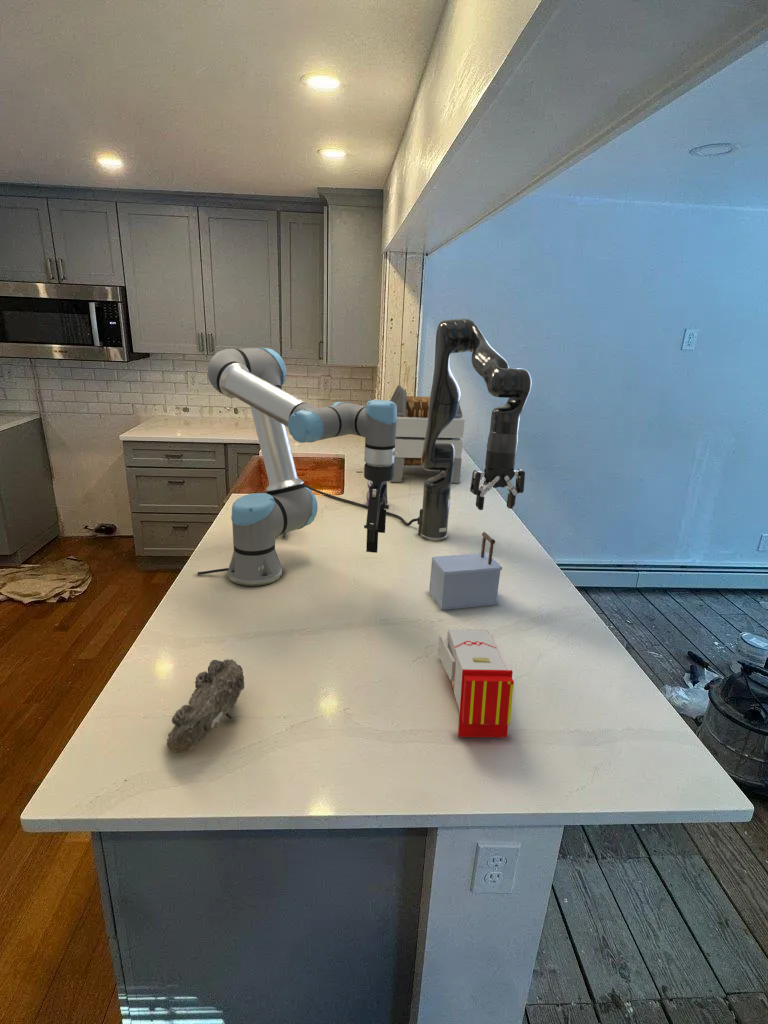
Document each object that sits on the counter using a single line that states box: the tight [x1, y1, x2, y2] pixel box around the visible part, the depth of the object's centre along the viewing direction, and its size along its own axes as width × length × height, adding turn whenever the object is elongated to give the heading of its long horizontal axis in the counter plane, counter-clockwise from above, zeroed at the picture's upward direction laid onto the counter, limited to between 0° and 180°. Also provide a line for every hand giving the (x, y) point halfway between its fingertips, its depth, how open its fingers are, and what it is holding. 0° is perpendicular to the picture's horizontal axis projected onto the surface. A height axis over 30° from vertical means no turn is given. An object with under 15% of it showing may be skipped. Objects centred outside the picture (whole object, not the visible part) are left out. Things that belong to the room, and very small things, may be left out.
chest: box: [428, 559, 501, 611], centre depth 155 cm, size 16×10×10 cm, turn 106°
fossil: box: [166, 658, 245, 754], centre depth 106 cm, size 22×10×15 cm
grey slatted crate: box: [389, 384, 465, 484], centre depth 268 cm, size 34×33×41 cm
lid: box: [431, 531, 503, 575], centre depth 152 cm, size 16×10×8 cm, turn 106°
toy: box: [437, 628, 515, 738], centre depth 117 cm, size 12×13×30 cm
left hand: (376, 541), depth 149 cm, fingers open, 13 cm apart
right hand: (494, 508), depth 150 cm, fingers open, 8 cm apart
